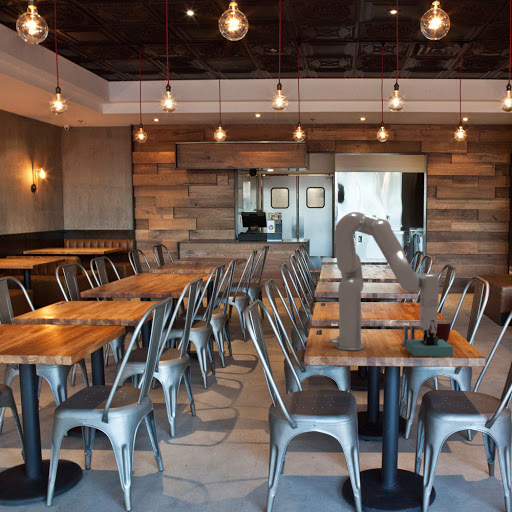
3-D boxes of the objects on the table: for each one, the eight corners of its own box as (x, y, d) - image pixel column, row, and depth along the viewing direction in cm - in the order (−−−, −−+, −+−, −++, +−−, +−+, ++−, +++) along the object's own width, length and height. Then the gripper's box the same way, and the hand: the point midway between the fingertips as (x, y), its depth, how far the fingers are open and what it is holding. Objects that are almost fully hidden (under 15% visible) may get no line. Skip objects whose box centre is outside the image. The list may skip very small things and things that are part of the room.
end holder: (414, 356, 241) (414, 347, 240) (405, 348, 255) (405, 339, 254) (452, 356, 241) (453, 346, 240) (442, 348, 255) (442, 339, 254)
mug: (426, 345, 261) (426, 323, 260) (425, 341, 269) (425, 320, 268) (451, 346, 259) (451, 324, 258) (449, 342, 266) (449, 320, 266)
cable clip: (403, 346, 259) (403, 326, 258) (401, 344, 263) (401, 325, 262) (416, 346, 259) (417, 326, 258) (414, 344, 263) (414, 324, 262)
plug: (424, 350, 246) (432, 329, 245) (421, 347, 250) (429, 327, 249) (432, 353, 246) (441, 332, 245) (430, 351, 250) (438, 330, 249)
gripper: (415, 299, 254) (414, 341, 256) (426, 305, 238) (425, 349, 239) (432, 299, 254) (431, 340, 256) (444, 305, 238) (443, 349, 239)
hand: (428, 344), depth 247 cm, fingers closed on plug, 3 cm apart
